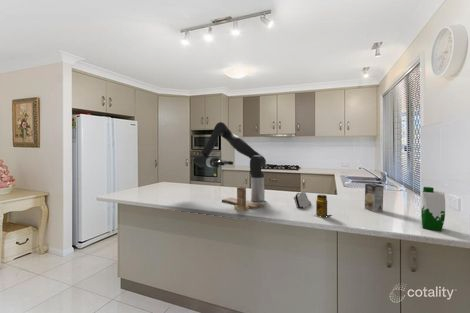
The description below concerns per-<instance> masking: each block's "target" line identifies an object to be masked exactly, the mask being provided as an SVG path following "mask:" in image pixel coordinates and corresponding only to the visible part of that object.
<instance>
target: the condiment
mask: <svg viewBox="0 0 470 313" xmlns="http://www.w3.org/2000/svg"><path fill="white" fill-rule="evenodd" d="M316 197H317V198H316V201H315V202H316V203H315V204H316V207H315V215H317V216H316V217H318V216H321V217H320V218H323V217H326V216H327V214H328V199H327V197H328V196H327V195H326V194H318V195H316ZM326 218H327V217H326Z"/></svg>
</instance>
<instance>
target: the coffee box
mask: <svg viewBox="0 0 470 313" xmlns="http://www.w3.org/2000/svg"><path fill="white" fill-rule="evenodd" d="M364 187H365V189H364V209H365V210H368V211H369V212H370V211H371V212H373V213H383V211H384V210H383V209H384V189H385V188H384V185H380V184H376V183H365V184H364Z"/></svg>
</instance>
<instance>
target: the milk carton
mask: <svg viewBox="0 0 470 313" xmlns="http://www.w3.org/2000/svg"><path fill="white" fill-rule="evenodd" d="M422 189H423V190H422V198H421V225H422V229H424V230H430V231H434V232H440V233H441V232H442V231H443V230H442V229H443V227H444V223H445V219H446V196H445V192H443V191H436V190H434V187H431V186H423V188H422Z"/></svg>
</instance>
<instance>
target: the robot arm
mask: <svg viewBox="0 0 470 313" xmlns="http://www.w3.org/2000/svg"><path fill="white" fill-rule="evenodd" d="M219 136H220V137H223V139H225V140H226V141H227V142H228V143H229V144H230V145H231V147H232V148H233V149H235V151H237V152H238V153H240V154H242V155H244V156H245V157H247V158H249V159H250V160H249V173H250V176H251V177H250V178H251V180H250V183H251V187H250V189H251V192H250V193H251V194H250V200H251V202H256V203H259V202H264V201H265V177H264V176H265V174H264V173H263V172H262V168H264V167H265V166H266V164H267V160H266V158H265V157H264V155H262V154H261V153H259V152H257V151H256V150H255V149H253V148H252V147H251V146H250V145H249V144H248V143H247V142H246V141H245V140H244V139H242V137H240V136H238V135H236V134H234V133H233V132H232V131H231V129H229V127H228V126H227V125H226V124H225V123H224V122H222V121H219V122H217V123H216V124H215V126H214V128H213V130H212V132H211V135H210V136H209V138H208V140H207V142H206V144H205V145H204V147H203V148H202V150H201V151H200V153H201V154H202V155H196V156H194V157H193V160H192V161H193V163H194V164H195V165H196V166H198V167H199V168H203V167H209V168H215V169H218V168H219V167H221V166H227V165H228V166H229V165H231V166H233V165H234V161H231V160H223V159H220V158H219V157H213V156H211V157H209V156H210V155H211V153H212V152H213V151H214V149H215V146H216V142H217V140H218V138H219Z"/></svg>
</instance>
